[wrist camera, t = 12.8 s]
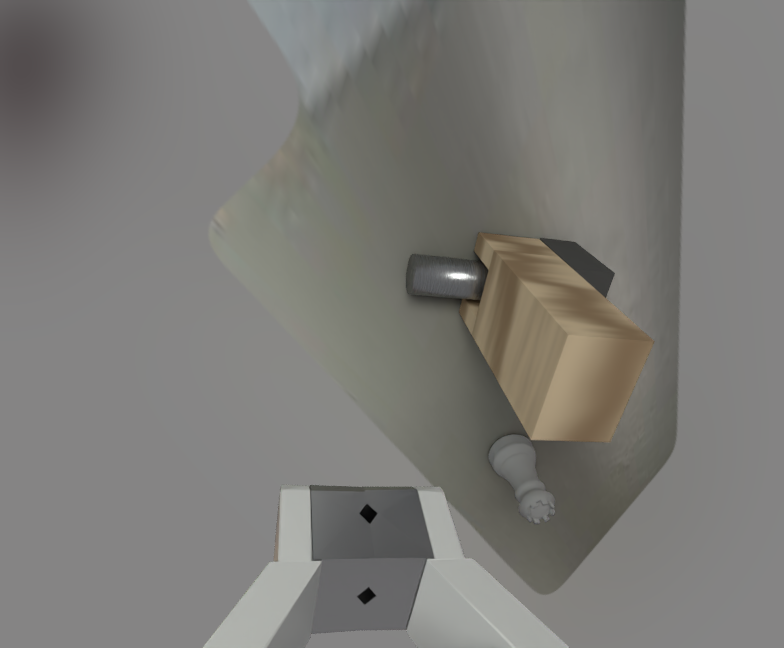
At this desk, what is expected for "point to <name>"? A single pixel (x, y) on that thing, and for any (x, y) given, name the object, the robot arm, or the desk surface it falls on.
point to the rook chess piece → (522, 476)
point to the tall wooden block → (553, 342)
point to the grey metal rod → (445, 277)
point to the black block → (582, 263)
